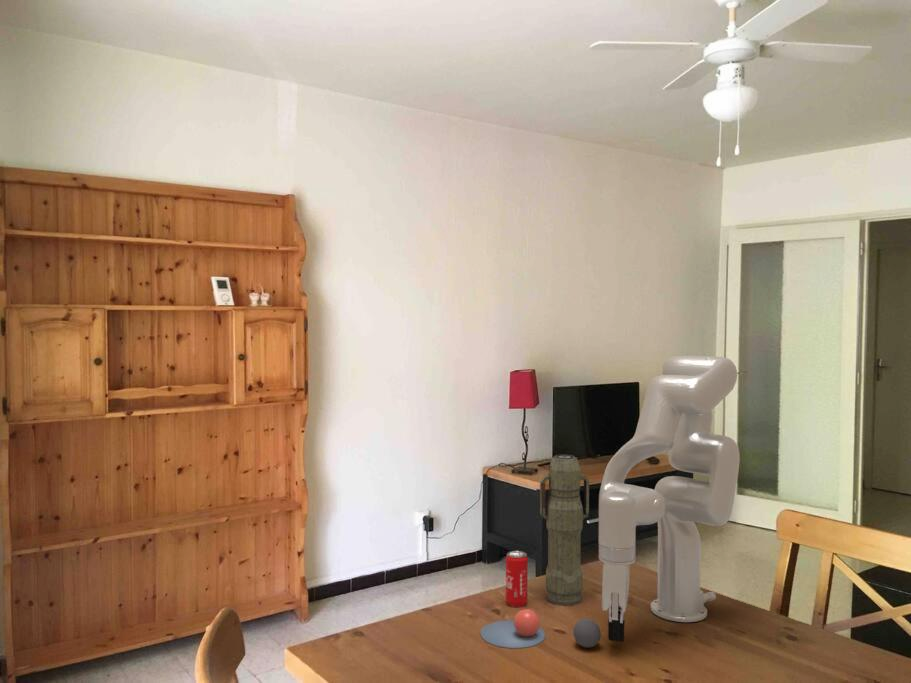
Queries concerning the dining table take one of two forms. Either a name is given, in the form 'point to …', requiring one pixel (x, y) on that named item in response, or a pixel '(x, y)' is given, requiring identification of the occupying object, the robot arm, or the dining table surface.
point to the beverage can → (516, 578)
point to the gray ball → (587, 633)
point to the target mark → (509, 635)
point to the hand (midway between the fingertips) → (616, 639)
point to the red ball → (526, 623)
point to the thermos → (564, 529)
